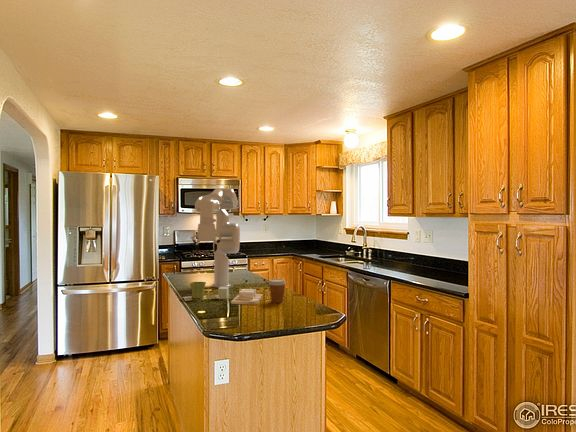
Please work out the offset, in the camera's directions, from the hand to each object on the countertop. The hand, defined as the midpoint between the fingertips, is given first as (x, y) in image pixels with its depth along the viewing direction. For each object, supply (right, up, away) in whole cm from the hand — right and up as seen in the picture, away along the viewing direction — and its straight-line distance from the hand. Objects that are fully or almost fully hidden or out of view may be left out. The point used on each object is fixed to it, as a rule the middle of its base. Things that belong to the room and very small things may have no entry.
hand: (206, 251), depth 229 cm
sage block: (+9, -28, +7) cm, 30 cm away
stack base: (+23, -28, +1) cm, 36 cm away
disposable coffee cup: (+40, -28, -2) cm, 49 cm away
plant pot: (-6, -28, +7) cm, 29 cm away
